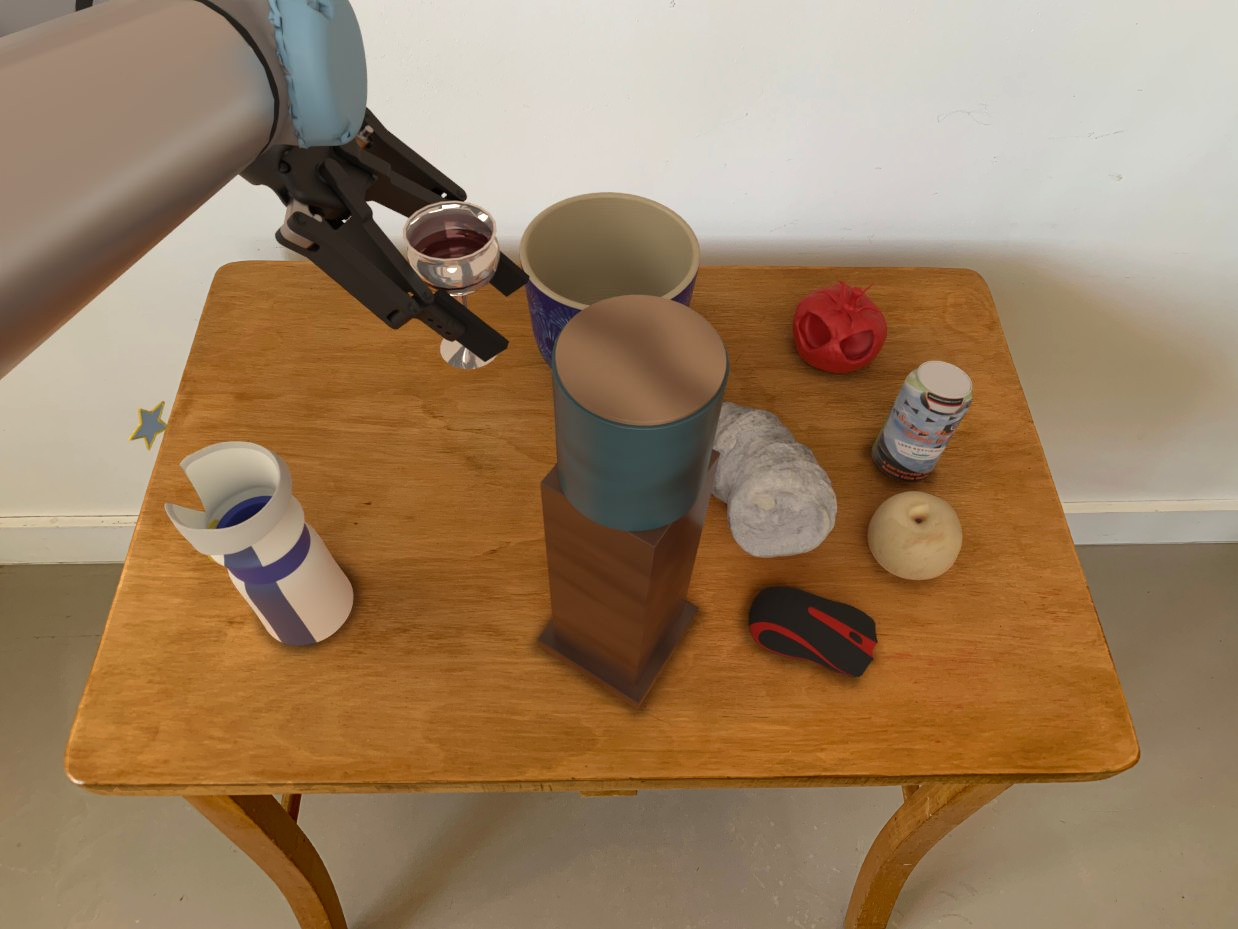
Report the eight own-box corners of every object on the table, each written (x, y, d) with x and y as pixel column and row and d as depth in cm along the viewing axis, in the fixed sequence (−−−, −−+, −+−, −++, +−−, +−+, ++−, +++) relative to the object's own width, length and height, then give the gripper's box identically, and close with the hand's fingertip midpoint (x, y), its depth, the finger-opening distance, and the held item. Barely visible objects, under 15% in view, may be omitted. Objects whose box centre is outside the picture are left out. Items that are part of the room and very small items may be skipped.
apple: (967, 585, 71) (963, 571, 65) (875, 585, 75) (862, 572, 68) (961, 501, 74) (957, 479, 67) (872, 505, 77) (860, 485, 70)
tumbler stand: (637, 710, 64) (677, 468, 36) (537, 646, 67) (500, 374, 39) (697, 615, 69) (774, 334, 41) (601, 559, 72) (611, 260, 43)
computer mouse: (862, 689, 66) (876, 673, 63) (738, 639, 68) (746, 620, 65) (878, 625, 69) (893, 606, 66) (760, 579, 72) (768, 558, 68)
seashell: (652, 432, 81) (659, 366, 72) (792, 426, 82) (815, 361, 74) (669, 573, 72) (680, 516, 63) (827, 565, 73) (858, 508, 64)
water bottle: (245, 653, 66) (90, 492, 46) (269, 562, 71) (139, 379, 50) (344, 653, 66) (235, 493, 46) (362, 562, 71) (270, 380, 51)
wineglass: (507, 378, 64) (493, 262, 55) (423, 376, 64) (394, 260, 54) (513, 318, 68) (501, 201, 58) (434, 317, 68) (409, 198, 58)
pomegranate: (802, 307, 92) (821, 243, 84) (885, 336, 90) (913, 273, 82) (773, 364, 87) (791, 301, 79) (861, 396, 84) (888, 335, 77)
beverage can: (864, 480, 78) (904, 404, 68) (873, 425, 82) (911, 345, 72) (928, 497, 77) (978, 422, 67) (934, 440, 81) (981, 361, 71)
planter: (497, 352, 86) (482, 240, 74) (612, 282, 93) (616, 169, 81) (600, 447, 79) (602, 341, 67) (716, 364, 86) (738, 254, 74)
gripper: (272, 58, 58) (506, 259, 71) (140, 226, 47) (446, 430, 59) (321, -11, 54) (563, 217, 66) (189, 157, 42) (510, 394, 55)
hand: (507, 317), depth 63 cm, fingers closed on wineglass, 7 cm apart
